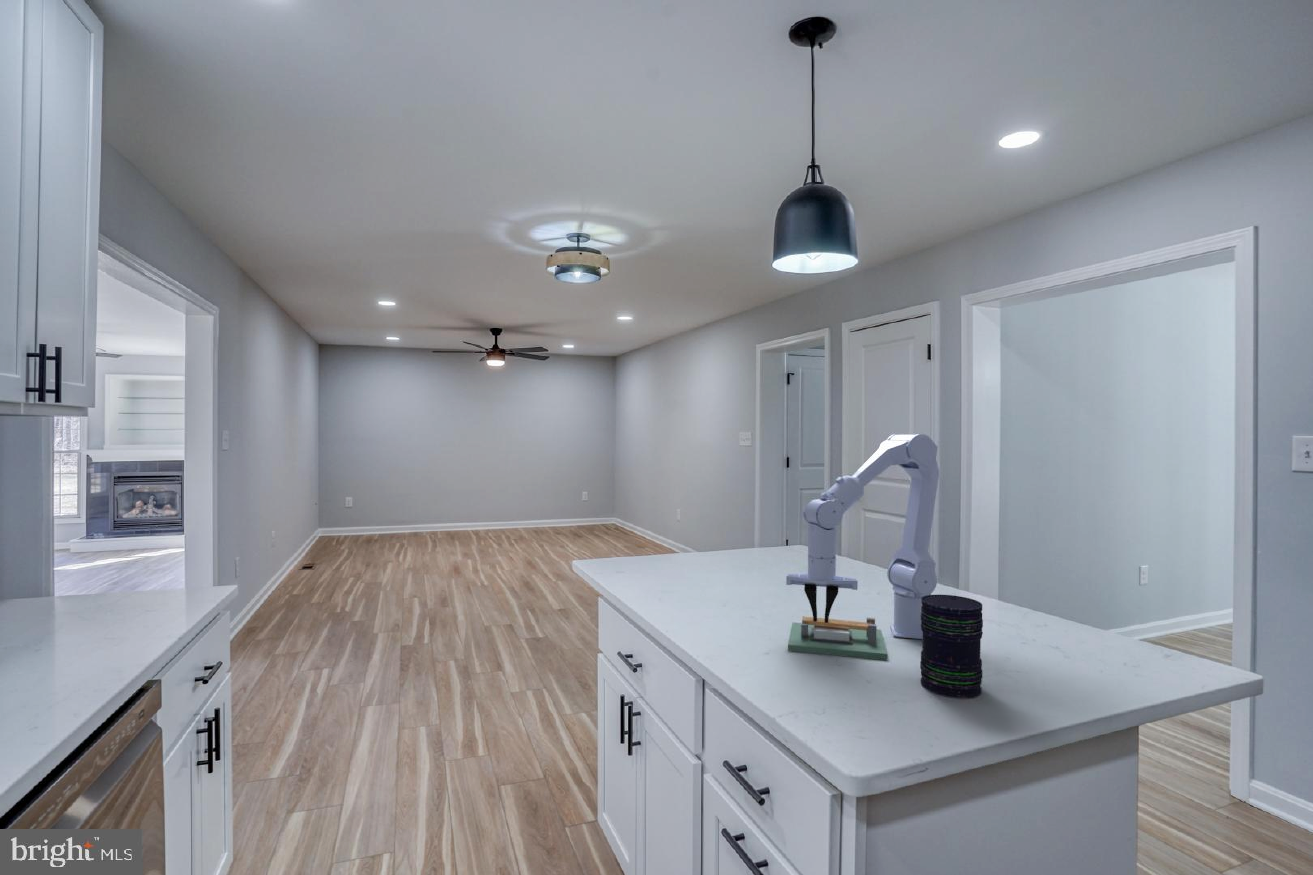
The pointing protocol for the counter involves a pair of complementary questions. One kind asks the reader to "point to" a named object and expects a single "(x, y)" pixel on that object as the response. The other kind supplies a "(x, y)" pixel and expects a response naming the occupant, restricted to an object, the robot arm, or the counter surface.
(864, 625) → the hold-down strap
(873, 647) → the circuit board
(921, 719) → the counter surface
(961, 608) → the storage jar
